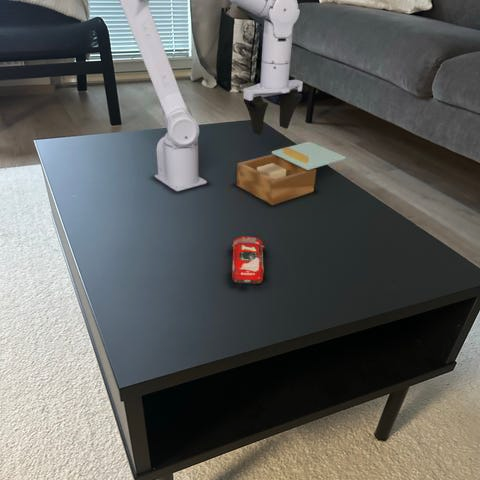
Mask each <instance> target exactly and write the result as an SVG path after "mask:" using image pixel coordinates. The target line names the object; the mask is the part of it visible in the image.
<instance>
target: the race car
mask: <svg viewBox="0 0 480 480" xmlns="http://www.w3.org/2000/svg"><path fill="white" fill-rule="evenodd" d="M231 246H232V266H231V280H232V281H233V282H234V283H238V284H246V285H247V284H248V285H249V284H250V285H257V284H261V283H262V282H263V280H264V270H265V269H264V267H265V266H264V252H263V251H264V250H263V249H264V248H265V245H263V241H262V240H261V239H259V238H257V237H254V236H250V235H245V236H240V237H237V238H235V239H234V240H233V244H231Z"/></svg>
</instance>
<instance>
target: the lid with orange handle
mask: <svg viewBox="0 0 480 480" xmlns="http://www.w3.org/2000/svg"><path fill="white" fill-rule="evenodd" d="M271 154H274V155H277V156H279V157H281V158H283V159H285V160H287V161H289V162H291V163H294V164H296V165H298V166H300V167H302V168H304V169H306V170H310V169H316V168H320V167H323V166H324V167H325V166H327V165H331V164H334V163H337V162H341V161H344V160H346V159H347V158H346V156H344V155H342V154H340V153H337V152H335V151H332V150H330V149H328V148H325V147H323V146H320V145H318V144H316V143H313V142H311V141H306V142H302V143H299V144H295V145H290V146H286V147H283V148H279V149H275V150H272V151H271Z"/></svg>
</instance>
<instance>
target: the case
mask: <svg viewBox="0 0 480 480" xmlns="http://www.w3.org/2000/svg"><path fill="white" fill-rule="evenodd" d="M271 163H274V164H276V165H278V166H280V167H282V168H284V169H286V176H285V177H282V178H278V179H275V180H274V179H272V178H270V177H269V176H267V175H265V174H263V173H261V172H259V171H257V167H260V166H264V165H267V164H271ZM236 167H237V169H236V186H237V187H239V188H241V189H243V190H245V192H248V193H250V194H252V195H254V196H255V197H257V198H259V199H261V200H262V201H264V202H266V203H268V204H269V205H271V206H274V205H278V204H280V203H283V202H286V201H289V200H292V199H296V198H299V197H301V196H302V197H303V196H305V195H307V194H311V193H313V192H314V190H315V185H316V175H317V169H316V168H314V169H310V170H306V169H304V168H302V167H300V166H298V165H296V164H294V163H291V162H289V161H287V160H285V159H283V158H281V157H279V156H277V155H274V154H272V153H271V154H268V155H263V156H261V157H255V158H253V159H248V160H245V161H241V162H237V166H236Z"/></svg>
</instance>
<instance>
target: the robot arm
mask: <svg viewBox="0 0 480 480" xmlns="http://www.w3.org/2000/svg"><path fill="white" fill-rule="evenodd" d="M228 1H229V2H230V3H231V4H233V5H236V6H238V7H239V8H241V9H243V10H245V11H246V12H247V11H248V12H249V13H251V14H253V15H255V16H257V17H259V18H261V17H262V19H263V20H264V21H263V34H262V49H261V50H262V51H261V64H260V65H261V66H260V68H261V69H260V82H259V83H257V84H254V85H252V86H249V87H244V88H243V95H242V96H243V98H242V99H243V103H244V104H245V107H246V109H247V112H248V114H249V118H250V122H251V126H252V127H251V129H252V132H253V134H255V135H258V136H261V135H262V134H263V130H264V122H265V121H264V120H265V115H266V111H267V108H268V107H269V103H268V102H266V101H264V99H263V98H265V97H271V96H276V95H277V97H278V101H279V118H278V119H279V127H281V128H283V129H285V130H286V129H289V126H290V123H291V121H292V117H293V115H294V113H295V111H296V108H297V107H298V105H299V104H300V102H301V101H302V98H303V94H302V93H300V92H302V91H303V84H304V83H303V81H302V80H299V79H290V80H289V78H290V69H291V56H292V45H293V34H294V33H293V31H294V24H295V23H296V22H297V21H298V19H299V17H300V14H301V13H300V12H301V10H300V9H299V3H298V0H228ZM149 3H150V0H119V4H120V6H121V9H122V11H123V13H124V14H123V15H124V16H125V19H126V22H127V23H128V26H129V28H130V31H131V34H132V36H133V39H134V41H135V45H136V46H137V49H138V51H139V53H140V56H141V58H142V61H143V63H144V66H145V68H146V71H147V74H148V77H149V78H150V81H151V83H152V86H153V88H154V90H155V93H156V95H157V98H158V101H159V104H160V105H161V109H162V117H161V118H162V123H163V125H164V127H165V129H166V131H167V132H166V133H165V134H164V136H163V137H161V138H160V139H159V140H158V142H157V145H156V162H157V163H156V164H157V174H155V175H154V178H155V179H157V180H158V181H160V182H161V183H163V184H164V185H166V186H167V187H169V188H170V189H172V190H174V191H175V192H181V191H184V190H188V189H191V188H196V187H200V186H203V185H206V184H207V183H208V181H207V180H206V179H204V178H202V177H201V176H200V175H199V174H200V173H199V167H200V166H199V135H200V127H199V123H198V121H197V120H196V119H195V117H194V116H193V113H192V112H191V111H192V110H191V109H190V107H189V106H187V105H186V102H185V100H184V97H183V96H182V92H181V90H180V88H179V85H178V82H177V80H176V77H175V74H174V71H173V68H172V66H171V63H170V61H169V58H168V55H167V52H166V49H165V47H164V44H163V41H162V39H161V36H160V33H159V31H158V28H157V25H156V22H155V19H154V17H153V15H152V11H151V10H150V7H149Z"/></svg>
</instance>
